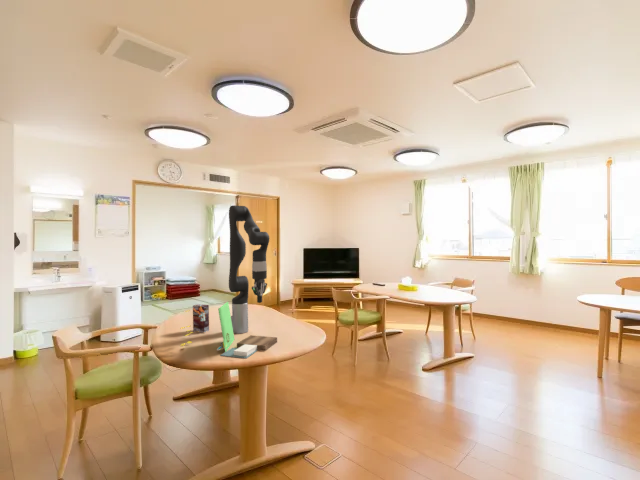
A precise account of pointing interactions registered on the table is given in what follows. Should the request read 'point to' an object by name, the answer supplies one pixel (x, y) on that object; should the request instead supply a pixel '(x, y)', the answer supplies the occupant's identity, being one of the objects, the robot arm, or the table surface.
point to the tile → (245, 350)
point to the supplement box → (197, 324)
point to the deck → (258, 342)
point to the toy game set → (225, 325)
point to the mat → (231, 353)
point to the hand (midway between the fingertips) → (259, 302)
